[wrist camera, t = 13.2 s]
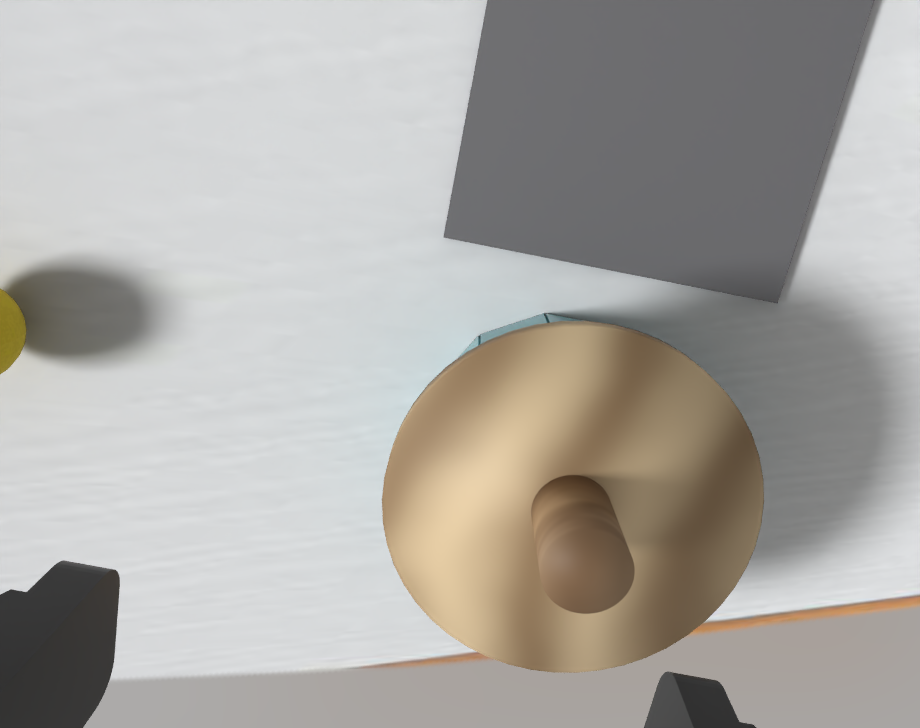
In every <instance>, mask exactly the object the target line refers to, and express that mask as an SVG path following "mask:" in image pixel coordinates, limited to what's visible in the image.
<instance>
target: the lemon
mask: <svg viewBox="0 0 920 728" xmlns="http://www.w3.org/2000/svg"><path fill="white" fill-rule="evenodd" d="M25 338H26V324H25V319H24V316H23V314H22V312H21V309H20V308H19V306H18V305H17V303H16V302H15V301H14V299H12V298H11V297H10V296H9V295H8V294H7V293H6V292H5V291H3V290H1V289H0V374H1V373H3V372H4V371H6V370H7V369H8V368H9V367H10V366H11V365H12V364H13V363H14V361H15V360H16V359H17V358H18V357H19V355H20V353H21V351H22V349H23V346H24V344H25Z"/></svg>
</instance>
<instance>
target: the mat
mask: <svg viewBox="0 0 920 728" xmlns="http://www.w3.org/2000/svg"><path fill="white" fill-rule="evenodd" d="M873 2H874V0H488V1H487V6H486V12H485V17H484V22H483V28H482V33H481V38H480V44H479V49H478V55H477V60H476V65H475V71H474V76H473V82H472V87H471V92H470V98H469V103H468V109H467V114H466V119H465V125H464V130H463V135H462V141H461V146H460V152H459V157H458V162H457V168H456V173H455V179H454V184H453V189H452V195H451V200H450V206H449V211H448V216H447V222H446V227H445V232H444V238H450V239H455V240H460V241H465V242H470V243H475V244H480V245H485V246H490V247H495V248H500V249H505V250H510V251H515V252H520V253H525V254H531V255H536V256H541V257H546V258H551V259H556V260H561V261H566V262H571V263H576V264H581V265H586V266H591V267H596V268H601V269H606V270H611V271H617V272H622V273H627V274H632V275H637V276H642V277H647V278H652V279H657V280H662V281H667V282H672V283H677V284H682V285H687V286H692V287H698V288H703V289H708V290H713V291H718V292H723V293H728V294H733V295H738V296H743V297H748V298H753V299H758V300H763V301H768V302H773V303H778V300H779V297H780V294H781V291H782V288H783V285H784V281H785V278H786V275H787V272H788V269H789V266H790V263H791V259H792V256H793V253H794V250H795V247H796V244H797V241H798V237H799V234H800V231H801V228H802V225H803V222H804V219H805V215H806V212H807V209H808V206H809V203H810V200H811V197H812V193H813V190H814V187H815V184H816V181H817V178H818V175H819V172H820V168H821V165H822V162H823V159H824V156H825V153H826V150H827V146H828V143H829V140H830V137H831V134H832V131H833V128H834V124H835V121H836V118H837V115H838V112H839V109H840V106H841V102H842V99H843V96H844V93H845V90H846V87H847V84H848V80H849V77H850V74H851V71H852V68H853V65H854V62H855V58H856V55H857V52H858V49H859V46H860V43H861V40H862V36H863V33H864V30H865V27H866V24H867V21H868V18H869V14H870V11H871V8H872V5H873Z"/></svg>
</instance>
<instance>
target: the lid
mask: <svg viewBox="0 0 920 728" xmlns="http://www.w3.org/2000/svg"><path fill="white" fill-rule="evenodd" d="M763 504H764V492H763V475H762V470H761V464H760V458H759V454H758V451H757V448H756V445H755V442H754V439H753V437H752V434H751V432H750V430H749V428H748V426H747V424H746V422H745V420H744V418H743V416H742V414H741V412H740V411H739V410H738V408H737V407H736V405H735V404H734V403H733V401H732V400H731V398H730V397H729V396H728V394H727V393H726V392H725V391H724V390H723V389H722V388H721V387H720V386H719V385H718V384H717V382H716V381H715V380H714V379H713V378H712V377H711V376H710V375H709V374H708V373H707V372H706V371H705V370H703V369H702V368H701V367H700V366H699V365H698V364H696V363H695V362H694V361H692V360H691V359H690V358H689V357H687V356H686V355H685V354H683V353H682V352H680V351H679V350H677V349H675V348H673V347H672V346H670V345H668V344H667V343H665V342H663V341H661V340H659V339H657V338H654V337H652V336H649V335H647V334H644V333H642V332H640V331H637V330H633V329H629V328H625V327H622V326H618V325H614V324H607V323H599V322H591V321H558V322H551V323H543V324H536V325H532V326H528V327H524V328H520V329H517V330H513V331H510V332H507V333H505V334H502V335H500V336H497V337H495V338H492V339H490V340H487V341H486V342H484V343H482V344H480V345H479V346H477V347H475V348H473V349H471V350H470V351H468V352H466V353H465V354H463V355H462V356H461V357H459V358H458V359H457V360H455V361H454V362H453V363H451V364H450V365H448V366H447V367H446V368H445V369H444V370H443V371H442V372H441V373H440V374H439V375H438V376H437V377H436V378H434V379H433V380H432V381H431V382H430V383H429V384H428V386H427V387H426V388H425V389H424V391H423V392H422V393H421V394H420V396H419V397H418V398H417V400H416V401H415V402H414V403H413V405H412V407H411V409H410V410H409V412H408V414H407V415H406V417H405V419H404V421H403V422H402V424H401V427H400V429H399V432H398V434H397V436H396V439H395V441H394V444H393V447H392V450H391V454H390V457H389V461H388V465H387V469H386V473H385V477H384V487H383V496H382V509H383V525H384V530H385V536H386V541H387V546H388V548H389V551H390V554H391V557H392V560H393V563H394V566H395V568H396V570H397V572H398V574H399V576H400V578H401V580H402V582H403V584H404V586H405V587H406V589H407V590H408V591H409V593H410V594H411V596H412V597H413V599H414V600H415V602H416V603H417V604H418V605H419V606H420V608H421V609H422V610H423V611H424V612H425V613H426V614H427V615H428V616H429V618H430V619H431V620H432V621H434V622H435V623H436V624H437V625H438V626H439V627H441V628H442V629H443V630H444V631H445V632H446V633H448V634H449V635H450V636H452V637H453V638H455V639H456V640H458V641H459V642H461V643H462V644H464V645H465V646H467V647H469V648H471V649H473V650H475V651H477V652H479V653H481V654H483V655H485V656H487V657H490V658H492V659H495V660H498V661H501V662H504V663H506V664H509V665H514V666H518V667H522V668H526V669H531V670H538V671H547V672H569V673H572V672H573V673H577V672H588V671H597V670H603V669H608V668H613V667H617V666H622V665H626V664H629V663H632V662H634V661H637V660H640V659H643V658H646V657H648V656H650V655H652V654H655V653H657V652H659V651H661V650H663V649H666V648H667V647H669V646H671V645H672V644H674V643H676V642H677V641H679V640H680V639H682V638H684V637H685V636H687V635H688V634H689V633H691V632H692V631H693V630H694V629H696V628H697V627H698V626H700V625H701V624H702V623H703V622H705V621H706V620H707V619H708V618H709V617H710V616H711V615H712V614H713V613H714V612H715V611H716V610H717V609H718V608H719V607H720V606H721V604H722V603H723V602H724V601H725V599H726V598H727V597H728V595H729V594H730V593H731V591H732V590H733V589H734V588H735V586H736V584H737V583H738V581H739V579H740V578H741V576H742V574H743V572H744V571H745V569H746V567H747V565H748V563H749V560H750V558H751V555H752V553H753V551H754V548H755V546H756V542H757V538H758V534H759V530H760V527H761V521H762V513H763Z"/></svg>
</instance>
